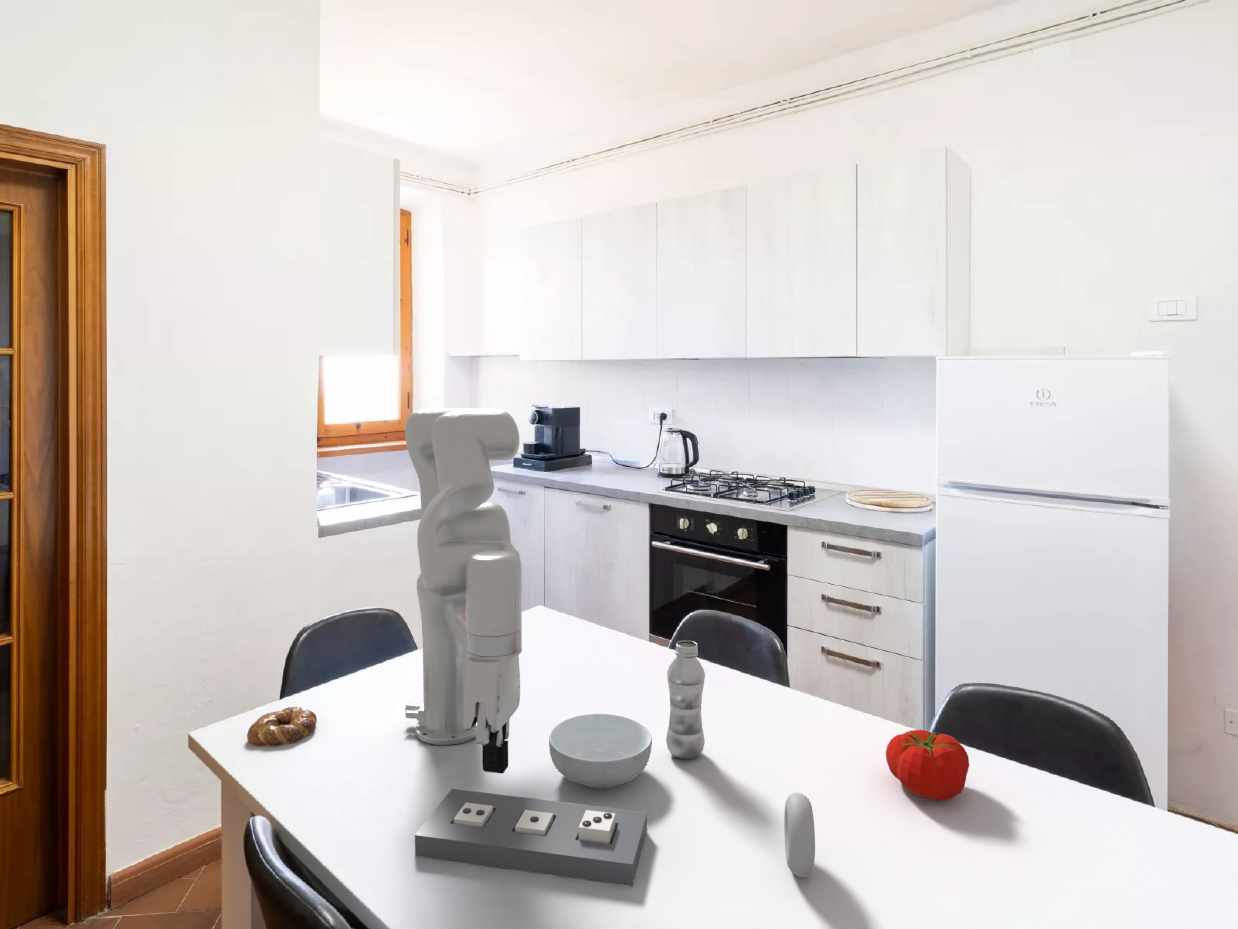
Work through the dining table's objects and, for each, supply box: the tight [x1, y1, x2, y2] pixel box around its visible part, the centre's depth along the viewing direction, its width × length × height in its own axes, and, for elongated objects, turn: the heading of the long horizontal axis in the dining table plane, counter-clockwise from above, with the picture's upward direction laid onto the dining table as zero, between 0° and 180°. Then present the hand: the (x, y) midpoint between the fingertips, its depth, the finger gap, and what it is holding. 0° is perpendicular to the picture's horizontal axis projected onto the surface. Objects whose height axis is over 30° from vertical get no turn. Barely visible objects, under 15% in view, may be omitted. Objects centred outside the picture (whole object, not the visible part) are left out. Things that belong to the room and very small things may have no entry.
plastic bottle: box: [665, 640, 706, 760], centre depth 127 cm, size 6×7×20 cm
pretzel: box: [246, 706, 318, 747], centre depth 134 cm, size 12×11×4 cm
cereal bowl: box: [548, 713, 653, 789], centre depth 120 cm, size 17×17×7 cm
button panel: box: [414, 788, 648, 887], centre depth 102 cm, size 30×12×3 cm, turn 79°
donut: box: [783, 792, 816, 878], centre depth 97 cm, size 10×4×10 cm, turn 172°
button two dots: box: [454, 803, 493, 828], centre depth 103 cm, size 4×4×3 cm
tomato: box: [885, 729, 970, 802], centre depth 117 cm, size 14×13×9 cm
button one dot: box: [515, 810, 553, 836], centre depth 102 cm, size 4×4×3 cm
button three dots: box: [579, 810, 615, 844], centre depth 100 cm, size 4×4×3 cm
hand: (495, 769), depth 102 cm, fingers closed
